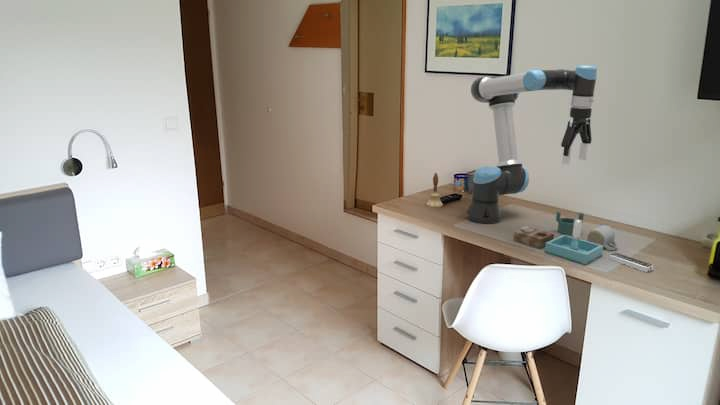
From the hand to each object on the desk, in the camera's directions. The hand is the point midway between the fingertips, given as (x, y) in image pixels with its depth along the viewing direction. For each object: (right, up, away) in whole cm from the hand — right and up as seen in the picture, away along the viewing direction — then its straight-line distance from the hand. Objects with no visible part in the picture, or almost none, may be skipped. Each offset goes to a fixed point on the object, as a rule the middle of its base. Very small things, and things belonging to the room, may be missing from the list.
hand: (574, 161), depth 211 cm
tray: (-3, -36, -6) cm, 36 cm away
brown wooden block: (-14, -32, +6) cm, 36 cm away
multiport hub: (+15, -39, -14) cm, 44 cm away
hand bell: (-47, -17, +55) cm, 75 cm away
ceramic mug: (+13, -34, +3) cm, 36 cm away
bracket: (+5, -29, +19) cm, 35 cm away
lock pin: (-3, -35, -6) cm, 36 cm away
